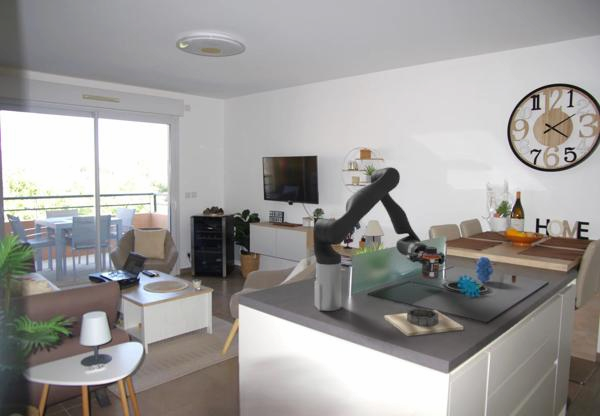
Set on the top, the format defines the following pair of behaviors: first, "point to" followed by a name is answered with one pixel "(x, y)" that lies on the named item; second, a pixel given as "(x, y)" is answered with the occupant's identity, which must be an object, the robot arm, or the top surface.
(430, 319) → the metal collar
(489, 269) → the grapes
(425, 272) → the supplement bottle
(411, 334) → the birch board
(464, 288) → the gear
